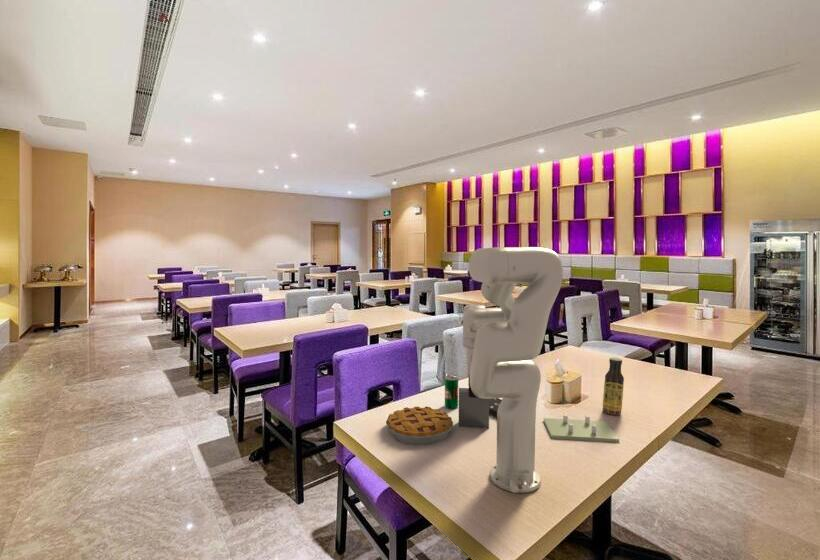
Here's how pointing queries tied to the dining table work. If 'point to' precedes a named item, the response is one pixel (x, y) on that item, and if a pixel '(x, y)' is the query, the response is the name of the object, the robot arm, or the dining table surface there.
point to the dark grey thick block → (473, 410)
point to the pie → (419, 425)
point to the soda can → (451, 391)
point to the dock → (580, 429)
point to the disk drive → (494, 406)
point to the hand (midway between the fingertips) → (473, 391)
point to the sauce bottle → (613, 388)
